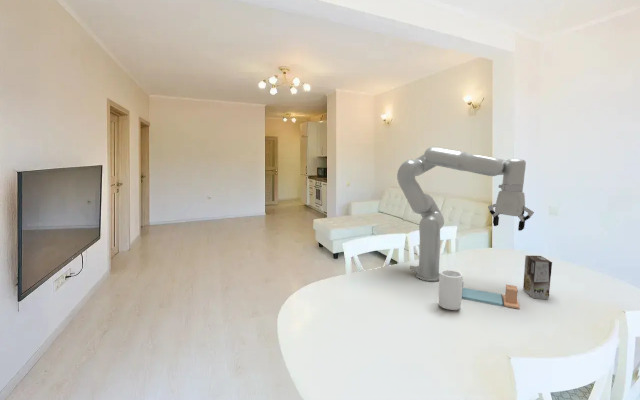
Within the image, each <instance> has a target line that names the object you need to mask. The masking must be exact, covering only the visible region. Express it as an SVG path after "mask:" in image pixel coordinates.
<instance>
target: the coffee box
mask: <svg viewBox="0 0 640 400" xmlns="http://www.w3.org/2000/svg"><path fill="white" fill-rule="evenodd" d="M524 260H525V261H524V272H523V286H522V287H523V288H522V290H523V291H524V292H525V294H528V295H529V296H530V297H531V298H533V299H538V300H539V299H540V300H549V298H550V289H551V276H552V266H553V261H550V259H547V258H546V257H544V256H542V255H525V257H524Z"/></svg>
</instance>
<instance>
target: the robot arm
mask: <svg viewBox="0 0 640 400" xmlns="http://www.w3.org/2000/svg"><path fill="white" fill-rule="evenodd" d="M526 164H527V162H526V160H524V159H519V158H510V159H509V158H508V159H502V158H495V157H494V158H493V157H489V156H485V155H484V156H483V155H477V154H472V153H469V152H466V151H462V150H456V149H455V150H454V149H450V148H445V147H440V146H431V147H428V148H427V149H426V150H425V151H424V153H423V154H422V155H420V156H419V157H417V158H415V159H413V158H411V159H407V160H405V161H403V163H402V164H401V165H400V166H399V168H398V170H397V175H396V177H397V178H396V179H397V182H398V184H399V187H400V189H401V191H402V192H403V194H404V197H405V199H406V200H407V203H408V204H409V206H410V208H411V210H412V211H413V212H414V213H415V214H417V215H420V216H421V218H420V221H419V225H418V227H419V228H418V230H419V231H418V232H419V249H418V250H419V253H418V254H419V255H418V265H417V266H414V265H410V266H409V269H410V270H411V272H415V275H416V276H417V277H418V278H417V277H416V276H415V277H416V278H417V279H419V278H420V280H421V279H422V280H421V281H425V280H426V282H438V281H439V278H440V258H441V257H440V253H441V229H442V228H443V226H444V224H445V219H444V215H443V214H442V212H441V210H440V208H439V207H438V205H437V203H436V201H435V200H434V198H433V196H431V195H430V194H428V193H425V192H424V191H423V189H422V188H421V186H420V184H419V182H418V181H417V180H416V177H419V176H420V175H424V173H426V172H429V171H430V170H432V169H433V168H435V167H440V168H441V167H442V168H447V169H451V170H457V171H461V172H469V173H474V174H477V175H483V176H487V177H496V176H502V183H501V184H499V185H498V188H500V189H501V190H499V191H498V195H497V197H496V202H495V203H494V204H491V205H489V206H488V207H487V208H488V211H489V214H491V216H492V217H493V218H492V224H493V226H494V227H497V226H499V223H500V222H499V221H500V216H499V215H504V216H511V217H518V219H519V221H518V229H517V230H518V231H519V232H521V231H523V230H524V229H525V225H526V221H528V220H529V219H530V218H531V217H532V216H533V215H534V213H535V212H534V211H533V210H531V209H530V208H528V207H526V199H525V197H526V196H525V192H524V184H525V183H524V181H525V174H526V173H525V172H526ZM525 212H526V213H527V215H526V216H525Z"/></svg>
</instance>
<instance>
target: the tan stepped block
mask: <svg viewBox="0 0 640 400" xmlns="http://www.w3.org/2000/svg"><path fill="white" fill-rule="evenodd" d="M504 292H505V294H502V297H503V303H504V306H503V307H507V308H513V309H517V310H519V309H520V304H519V303H520V302H519V300H518V294H519V293H518V287H517V285H512V284H505V291H504Z"/></svg>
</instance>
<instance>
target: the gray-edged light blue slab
mask: <svg viewBox="0 0 640 400" xmlns="http://www.w3.org/2000/svg"><path fill="white" fill-rule="evenodd" d="M462 300H465V301H466V300H467V301H472V302H477V303H483V304H489V305H494V306H498V307H505V306H504V301H503V294H502V293H497V292H491V291H490V292H489V291H484V290H479V289H472V288H467V287H463V288H462Z"/></svg>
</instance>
